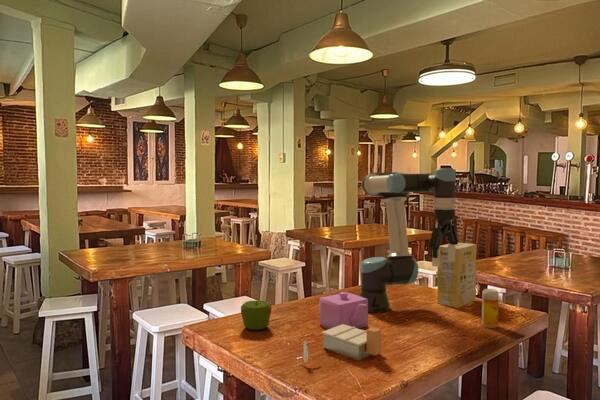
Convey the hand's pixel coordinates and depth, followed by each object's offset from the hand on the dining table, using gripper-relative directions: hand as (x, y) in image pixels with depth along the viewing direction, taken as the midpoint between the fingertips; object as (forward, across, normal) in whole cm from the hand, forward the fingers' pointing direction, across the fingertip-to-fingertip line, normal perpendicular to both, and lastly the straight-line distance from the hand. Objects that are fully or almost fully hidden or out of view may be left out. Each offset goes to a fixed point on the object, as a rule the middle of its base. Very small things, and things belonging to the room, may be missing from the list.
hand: (443, 263), depth 171 cm
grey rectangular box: (+28, -36, +18) cm, 49 cm away
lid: (+26, -36, +16) cm, 47 cm away
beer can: (+28, +23, -10) cm, 38 cm away
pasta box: (+29, +48, +15) cm, 58 cm away
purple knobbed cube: (+29, -17, +34) cm, 48 cm away
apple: (+28, -43, +60) cm, 79 cm away
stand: (+28, -55, +21) cm, 65 cm away
